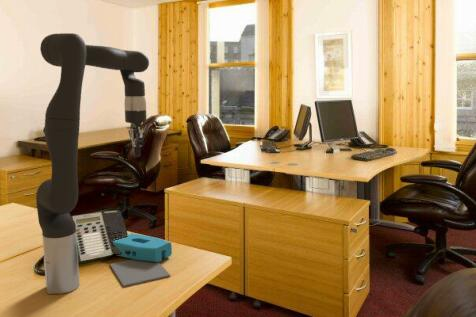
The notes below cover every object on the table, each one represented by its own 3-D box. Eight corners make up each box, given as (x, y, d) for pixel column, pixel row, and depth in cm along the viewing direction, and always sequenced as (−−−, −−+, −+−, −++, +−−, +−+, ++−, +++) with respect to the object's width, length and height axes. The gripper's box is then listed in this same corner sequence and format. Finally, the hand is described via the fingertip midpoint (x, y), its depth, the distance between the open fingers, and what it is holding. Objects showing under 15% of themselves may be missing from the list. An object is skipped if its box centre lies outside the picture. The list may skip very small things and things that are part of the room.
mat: (123, 287, 129) (123, 285, 128) (110, 265, 144) (110, 263, 144) (170, 276, 136) (170, 274, 136) (152, 257, 151) (152, 255, 151)
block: (151, 250, 142) (109, 241, 152) (152, 264, 142) (110, 254, 153) (174, 240, 152) (133, 232, 162) (174, 253, 153) (134, 245, 163)
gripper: (120, 108, 155) (122, 155, 158) (130, 110, 144) (132, 160, 147) (140, 108, 159) (142, 153, 162) (151, 109, 148) (153, 158, 151)
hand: (137, 156), depth 154 cm, fingers closed
